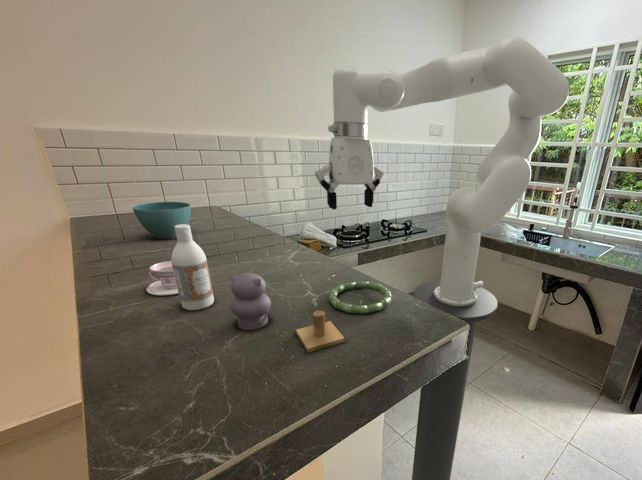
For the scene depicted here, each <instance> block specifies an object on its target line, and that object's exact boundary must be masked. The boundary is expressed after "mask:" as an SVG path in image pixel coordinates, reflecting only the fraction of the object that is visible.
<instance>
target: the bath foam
mask: <svg viewBox="0 0 642 480" xmlns="http://www.w3.org/2000/svg"><path fill="white" fill-rule="evenodd" d="M175 232H176V237H177V238H176V241H177V242H176V243H175V246H174V247H173V250H172V252H171V259H170V261H172V267H173V271H174V275H175V280H176V284H177V288H178V292H179V294H178V296H179V301H180V304H181V307H182V309H184V310H187V311H199V310H203V309H206V308H209V307H211V305H213V304H214V302H215V297H214V291H213V287H212V281H211V276H210V269H209V265H208V260H207V257H206V254H205V252H204V250H203V249H202V248H201V246H200V245H199V244H197V243H196V242H195V241H194V240H193V234H192V230H191V226H190V224H188V225H187V224H180V225H176V226H175Z"/></svg>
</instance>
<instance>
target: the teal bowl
mask: <svg viewBox="0 0 642 480" xmlns="http://www.w3.org/2000/svg"><path fill="white" fill-rule="evenodd" d="M132 212H133V213H134V215H135V217H136V219H137V221H138V222H139V224H140V225H141V226H142V227H143V229H144V230H146V231H147V232H148V233H149V234H151V236H153V237H155V238H156V239H159V240H171V239H177V237H176V232H175V226H176V225H180V224H187V225H190V221H191V215H192V207H191V204H190V203H188V202H181V201H156V202H147V203H146V202H145V203H140V204H136V205H133V206H132Z"/></svg>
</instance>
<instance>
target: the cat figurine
mask: <svg viewBox="0 0 642 480" xmlns="http://www.w3.org/2000/svg"><path fill="white" fill-rule="evenodd" d="M227 276H228V278H229V280H230V282H231V284H230V290H231V292H232V294H233V298H232V299H231V301H230V305H229V307H230V310H231V312H232V313H233V315H235V316H236V317H237V318H236V324H237V326H238V328H239V329H241V330H243V331H253V330H257V329H260V328H262V327H264V326H266V325H267V324H268V323H269V317H268V312H270V310H271V307H272V300H271V298H270V296H269V295H268V294H266V289H267V285H266V281H265V279H264V278H263V277H262V276H260V275H259V274H256V273H253V272H244V273H241V274H239V275H236V274H230V273H227Z"/></svg>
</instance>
